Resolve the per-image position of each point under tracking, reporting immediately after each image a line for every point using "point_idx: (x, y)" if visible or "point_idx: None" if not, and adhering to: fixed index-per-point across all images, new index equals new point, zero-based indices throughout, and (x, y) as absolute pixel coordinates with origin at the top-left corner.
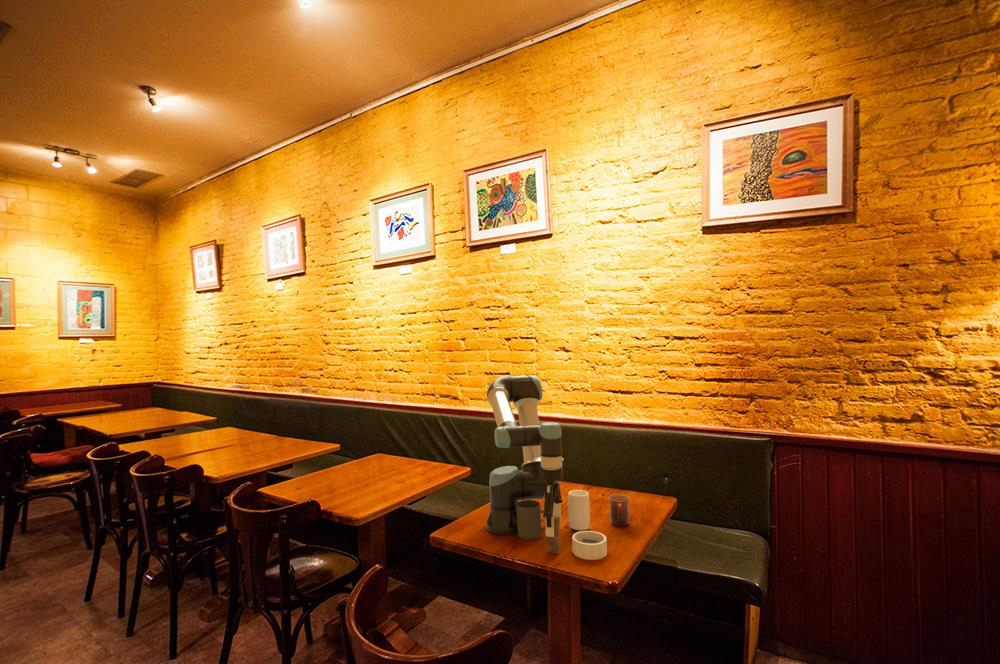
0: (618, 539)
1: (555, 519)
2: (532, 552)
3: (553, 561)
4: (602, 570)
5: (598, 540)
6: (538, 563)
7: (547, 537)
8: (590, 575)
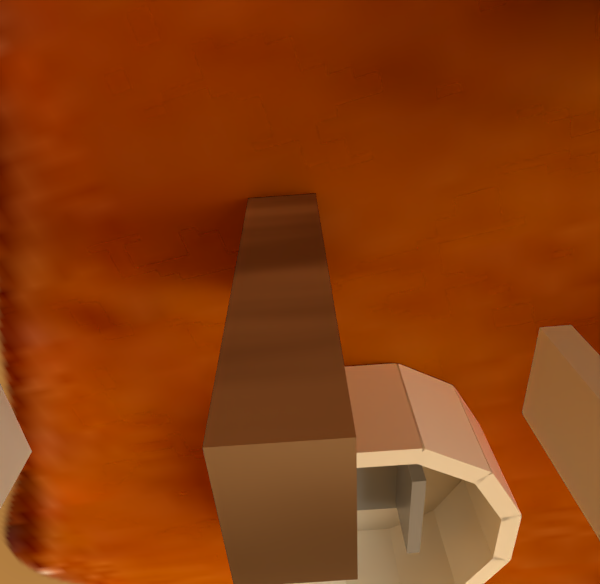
0: (578, 545)
1: (227, 554)
2: (204, 39)
3: (117, 280)
4: (148, 535)
5: (454, 527)
6: (13, 173)
7: (238, 264)
8: (56, 501)
